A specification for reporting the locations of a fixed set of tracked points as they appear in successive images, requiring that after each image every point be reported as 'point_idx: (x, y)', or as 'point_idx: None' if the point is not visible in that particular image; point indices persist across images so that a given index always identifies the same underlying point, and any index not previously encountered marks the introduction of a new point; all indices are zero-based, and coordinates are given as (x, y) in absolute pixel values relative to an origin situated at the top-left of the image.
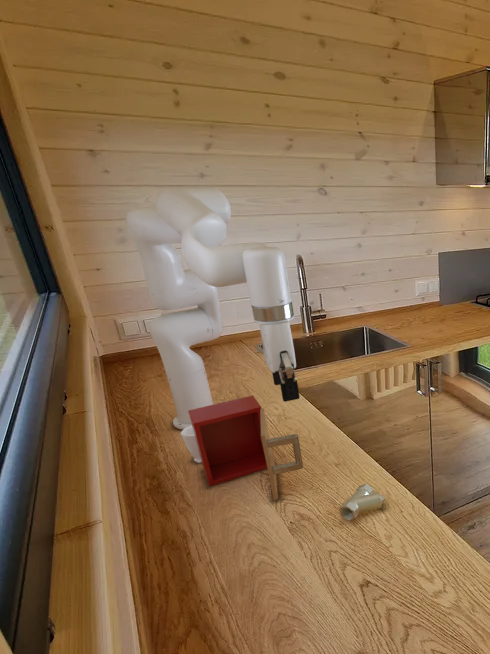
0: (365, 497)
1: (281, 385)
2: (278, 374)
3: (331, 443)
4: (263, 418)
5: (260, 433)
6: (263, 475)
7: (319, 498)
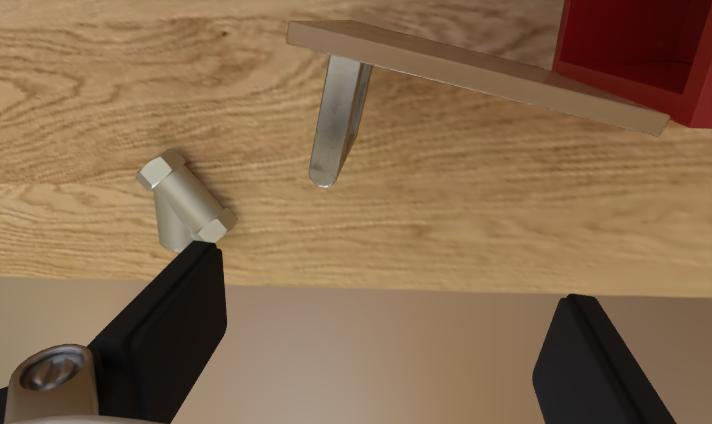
0: (163, 219)
1: (112, 328)
2: (584, 396)
3: (546, 264)
4: (508, 94)
5: (647, 73)
6: (520, 29)
7: (290, 134)
